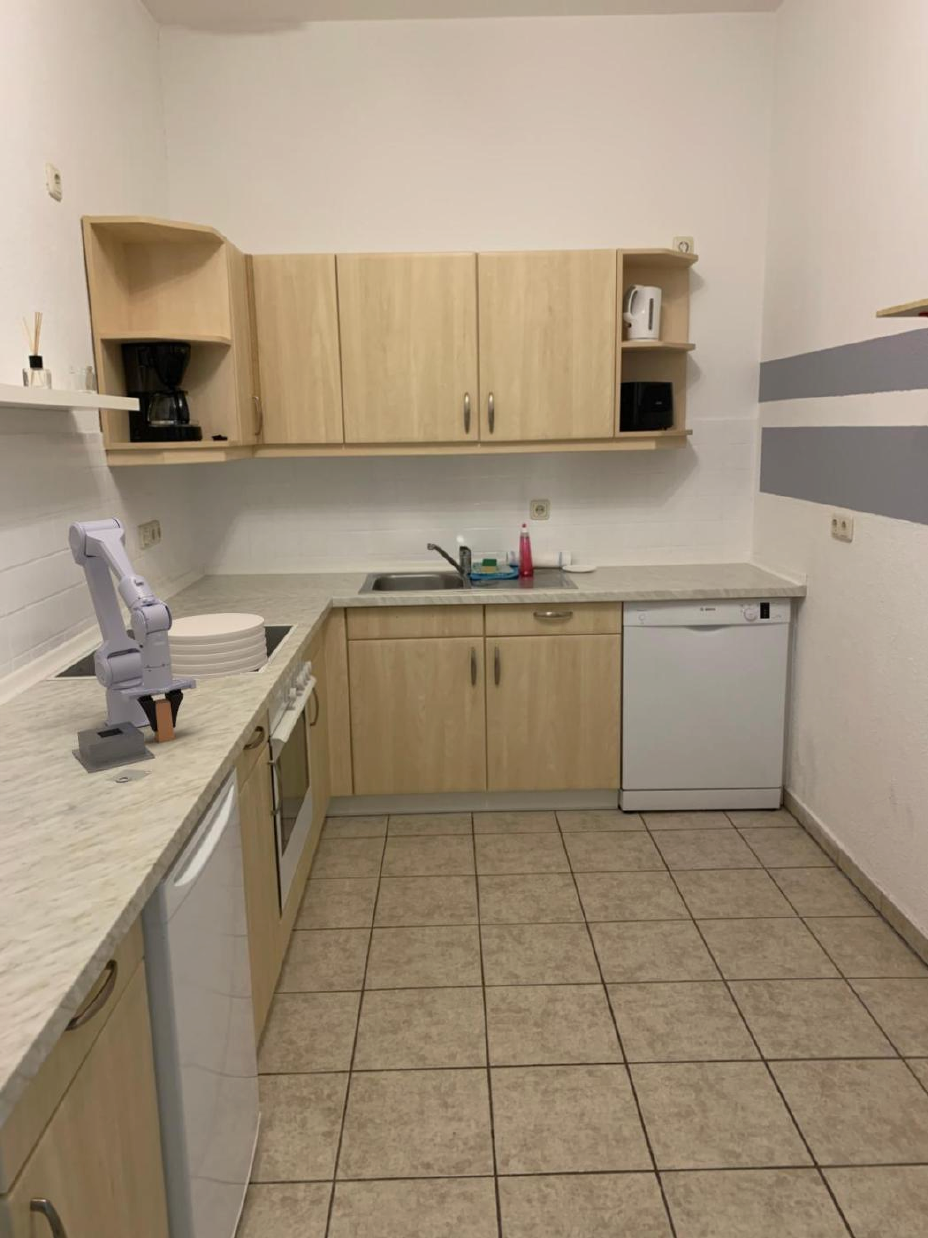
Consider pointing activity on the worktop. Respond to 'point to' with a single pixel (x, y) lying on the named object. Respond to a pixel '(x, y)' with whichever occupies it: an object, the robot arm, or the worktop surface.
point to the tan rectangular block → (164, 721)
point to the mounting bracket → (129, 775)
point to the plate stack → (217, 645)
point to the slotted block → (111, 747)
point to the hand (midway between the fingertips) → (163, 728)
